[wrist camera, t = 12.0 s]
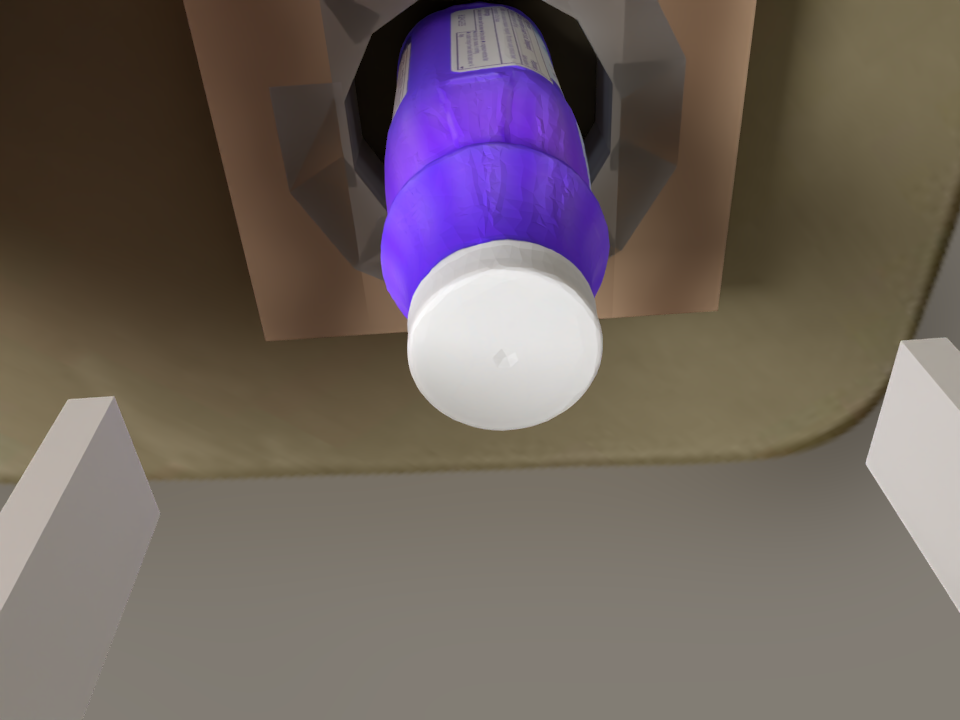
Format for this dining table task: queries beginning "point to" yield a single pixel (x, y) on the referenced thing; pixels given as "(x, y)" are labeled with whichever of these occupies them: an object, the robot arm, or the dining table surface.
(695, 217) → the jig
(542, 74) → the bottle
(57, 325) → the dining table surface
